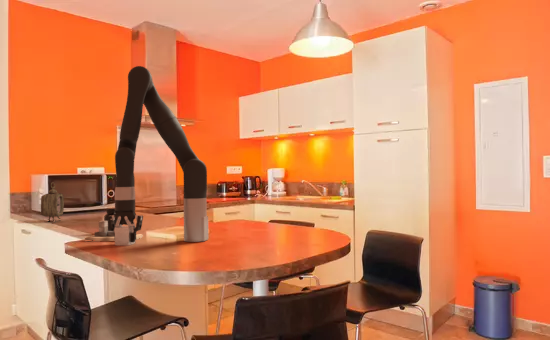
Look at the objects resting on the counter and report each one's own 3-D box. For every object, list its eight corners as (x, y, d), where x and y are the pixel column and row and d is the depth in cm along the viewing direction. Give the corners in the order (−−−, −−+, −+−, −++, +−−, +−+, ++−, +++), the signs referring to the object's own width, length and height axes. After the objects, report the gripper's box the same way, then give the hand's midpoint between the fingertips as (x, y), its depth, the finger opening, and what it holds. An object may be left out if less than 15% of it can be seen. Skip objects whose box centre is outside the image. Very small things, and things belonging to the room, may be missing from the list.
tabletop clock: (56, 222, 242) (56, 182, 243) (40, 223, 240) (40, 182, 241) (63, 220, 256) (63, 182, 257) (48, 220, 254) (48, 182, 255)
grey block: (135, 243, 156) (135, 225, 156) (128, 245, 151) (128, 227, 151) (122, 243, 157) (122, 225, 157) (114, 245, 151) (114, 227, 151)
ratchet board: (142, 237, 171) (142, 219, 171) (130, 241, 160) (130, 222, 161) (99, 237, 173) (99, 219, 174) (84, 241, 163) (84, 222, 163)
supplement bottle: (122, 232, 188) (122, 207, 189) (113, 234, 182) (113, 208, 182) (110, 232, 190) (110, 207, 191) (100, 234, 184) (100, 208, 184)
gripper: (146, 198, 157) (147, 240, 157) (112, 198, 159) (112, 240, 158) (138, 199, 150) (138, 243, 149) (102, 199, 151) (102, 243, 151)
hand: (125, 241), depth 154 cm, fingers closed on grey block, 5 cm apart
